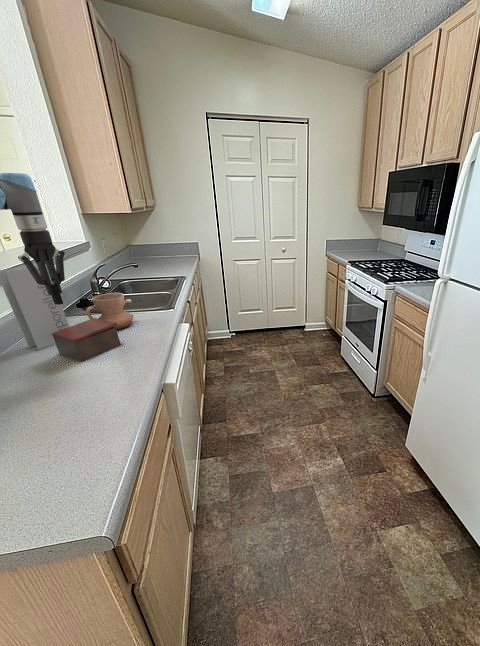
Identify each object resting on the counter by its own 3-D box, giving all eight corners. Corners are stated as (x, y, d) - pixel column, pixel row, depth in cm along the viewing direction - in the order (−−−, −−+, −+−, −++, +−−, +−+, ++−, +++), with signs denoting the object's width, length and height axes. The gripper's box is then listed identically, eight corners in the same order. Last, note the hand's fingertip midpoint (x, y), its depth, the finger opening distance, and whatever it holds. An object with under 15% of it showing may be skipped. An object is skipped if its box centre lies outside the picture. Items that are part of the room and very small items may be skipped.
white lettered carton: (38, 351, 127) (5, 272, 113) (29, 349, 129) (-5, 271, 115) (73, 337, 139) (46, 264, 125) (63, 335, 141) (36, 263, 127)
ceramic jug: (133, 318, 158) (125, 289, 151) (140, 327, 147) (132, 296, 141) (90, 327, 149) (80, 296, 142) (94, 337, 138) (83, 304, 132)
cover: (95, 320, 132) (94, 317, 132) (117, 325, 126) (116, 322, 126) (52, 335, 120) (51, 333, 119) (74, 342, 114) (73, 339, 113)
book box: (99, 340, 135) (93, 322, 132) (121, 345, 130) (115, 327, 126) (60, 355, 123) (52, 336, 120) (82, 362, 117) (74, 342, 114)
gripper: (16, 232, 96) (44, 310, 107) (62, 228, 106) (84, 300, 117) (3, 231, 99) (32, 307, 110) (49, 228, 110) (71, 297, 120)
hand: (58, 303), depth 113 cm, fingers closed
